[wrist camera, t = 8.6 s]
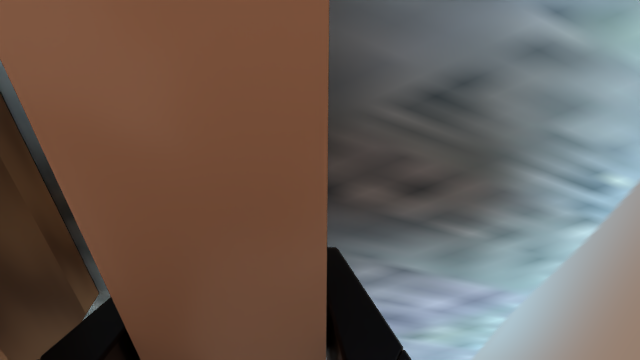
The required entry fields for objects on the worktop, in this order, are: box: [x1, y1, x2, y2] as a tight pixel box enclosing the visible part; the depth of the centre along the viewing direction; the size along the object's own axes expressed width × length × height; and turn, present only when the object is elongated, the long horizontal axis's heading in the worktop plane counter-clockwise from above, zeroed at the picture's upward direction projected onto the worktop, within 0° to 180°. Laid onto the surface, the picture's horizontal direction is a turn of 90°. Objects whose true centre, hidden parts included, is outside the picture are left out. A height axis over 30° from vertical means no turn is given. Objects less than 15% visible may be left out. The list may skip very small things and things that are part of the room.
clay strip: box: [0, 0, 329, 360], centre depth 9 cm, size 15×4×4 cm, turn 0°
